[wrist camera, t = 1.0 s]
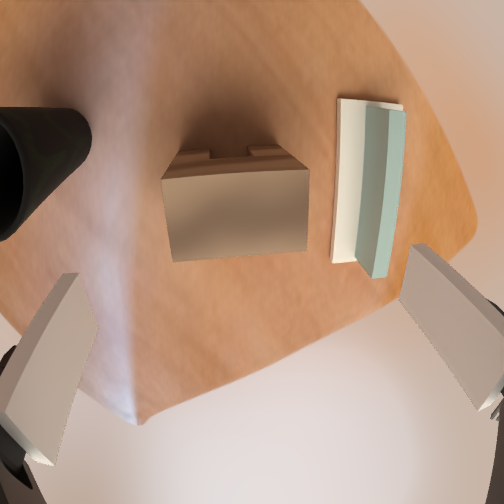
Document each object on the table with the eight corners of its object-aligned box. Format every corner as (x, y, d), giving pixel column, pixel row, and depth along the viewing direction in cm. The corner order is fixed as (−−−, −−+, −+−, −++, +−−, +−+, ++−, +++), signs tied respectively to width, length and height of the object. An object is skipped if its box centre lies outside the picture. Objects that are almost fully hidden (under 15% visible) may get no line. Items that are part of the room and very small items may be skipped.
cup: (66, 78, 20) (-25, 79, 9) (121, 139, 23) (54, 176, 12) (15, 143, 21) (-74, 184, 11) (65, 200, 25) (-7, 268, 14)
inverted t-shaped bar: (337, 98, 23) (362, 100, 19) (398, 104, 24) (429, 109, 20) (329, 259, 30) (347, 286, 26) (383, 254, 31) (406, 278, 27)
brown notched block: (178, 151, 24) (160, 179, 16) (278, 144, 25) (309, 169, 17) (184, 209, 26) (172, 262, 19) (279, 202, 27) (306, 251, 19)
